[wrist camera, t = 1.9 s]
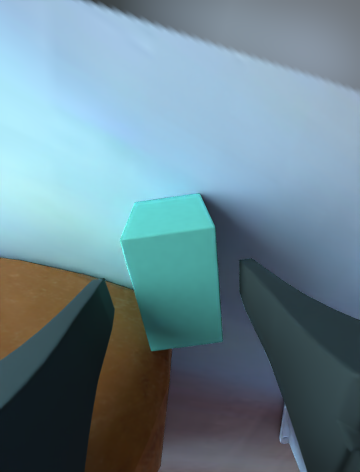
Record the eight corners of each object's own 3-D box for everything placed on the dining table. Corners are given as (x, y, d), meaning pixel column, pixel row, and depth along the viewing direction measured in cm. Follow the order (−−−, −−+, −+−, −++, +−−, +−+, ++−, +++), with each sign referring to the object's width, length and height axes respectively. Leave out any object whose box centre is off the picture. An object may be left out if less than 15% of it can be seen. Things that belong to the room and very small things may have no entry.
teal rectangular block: (208, 284, 17) (223, 342, 12) (154, 291, 17) (150, 352, 12) (199, 192, 14) (215, 226, 9) (134, 202, 14) (119, 239, 9)
